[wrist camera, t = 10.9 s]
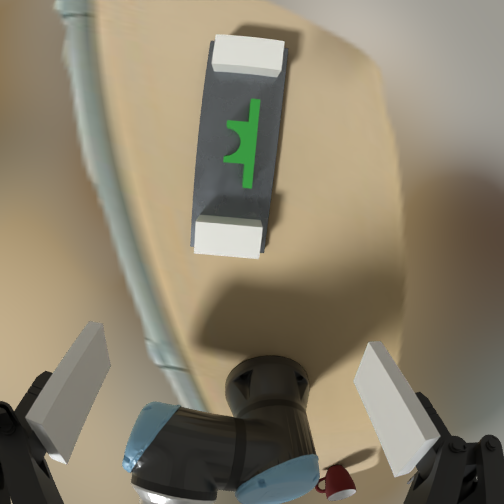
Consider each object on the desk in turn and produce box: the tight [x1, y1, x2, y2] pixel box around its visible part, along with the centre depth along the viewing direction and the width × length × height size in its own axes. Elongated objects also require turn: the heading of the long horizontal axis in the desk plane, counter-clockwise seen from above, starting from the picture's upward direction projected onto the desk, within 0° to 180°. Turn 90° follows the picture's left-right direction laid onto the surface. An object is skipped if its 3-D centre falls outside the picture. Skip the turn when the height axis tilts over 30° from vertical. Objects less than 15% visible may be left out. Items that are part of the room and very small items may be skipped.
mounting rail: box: [190, 34, 288, 259], centre depth 35 cm, size 28×10×5 cm, turn 174°
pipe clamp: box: [223, 99, 260, 189], centre depth 34 cm, size 10×4×4 cm, turn 175°
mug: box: [315, 465, 356, 501], centre depth 60 cm, size 10×8×10 cm
